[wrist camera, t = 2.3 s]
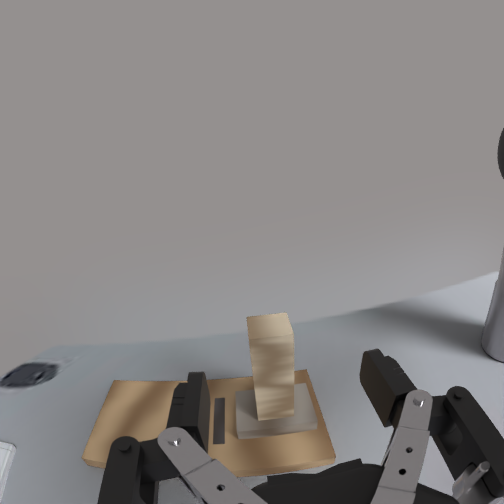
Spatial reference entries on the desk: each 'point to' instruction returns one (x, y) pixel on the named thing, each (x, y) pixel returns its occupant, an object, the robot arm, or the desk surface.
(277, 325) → the block
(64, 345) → the desk surface
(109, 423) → the board
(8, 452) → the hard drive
